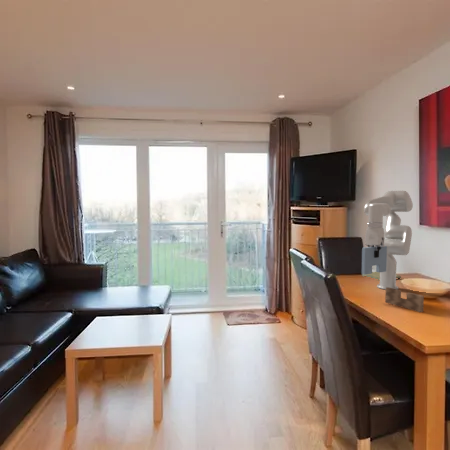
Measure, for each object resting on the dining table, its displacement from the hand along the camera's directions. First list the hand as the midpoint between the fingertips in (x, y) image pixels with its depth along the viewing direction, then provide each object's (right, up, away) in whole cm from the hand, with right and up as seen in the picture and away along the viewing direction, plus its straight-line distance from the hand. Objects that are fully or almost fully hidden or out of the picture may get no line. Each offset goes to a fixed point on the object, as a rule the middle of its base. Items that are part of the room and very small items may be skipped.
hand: (374, 256), depth 194 cm
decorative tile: (+31, -22, +59) cm, 70 cm away
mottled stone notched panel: (+8, -25, -16) cm, 31 cm away
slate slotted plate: (0, -9, +1) cm, 9 cm away
